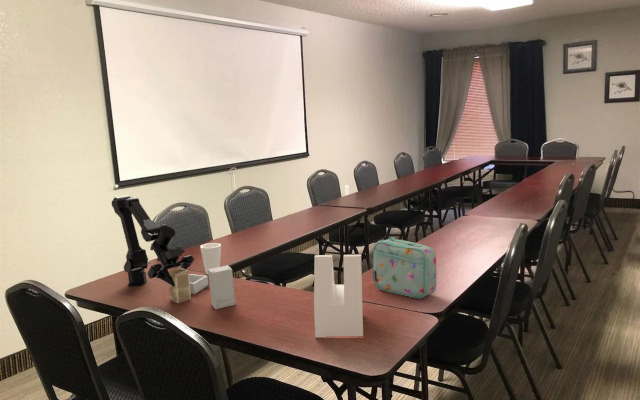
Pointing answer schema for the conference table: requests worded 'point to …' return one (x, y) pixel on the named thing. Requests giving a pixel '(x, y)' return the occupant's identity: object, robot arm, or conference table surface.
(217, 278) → the skincare box
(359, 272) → the white notched block
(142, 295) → the conference table surface
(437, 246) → the conference table surface
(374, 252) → the lunch box
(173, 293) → the birch caddy
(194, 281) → the white tray
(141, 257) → the robot arm
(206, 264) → the foam cup
